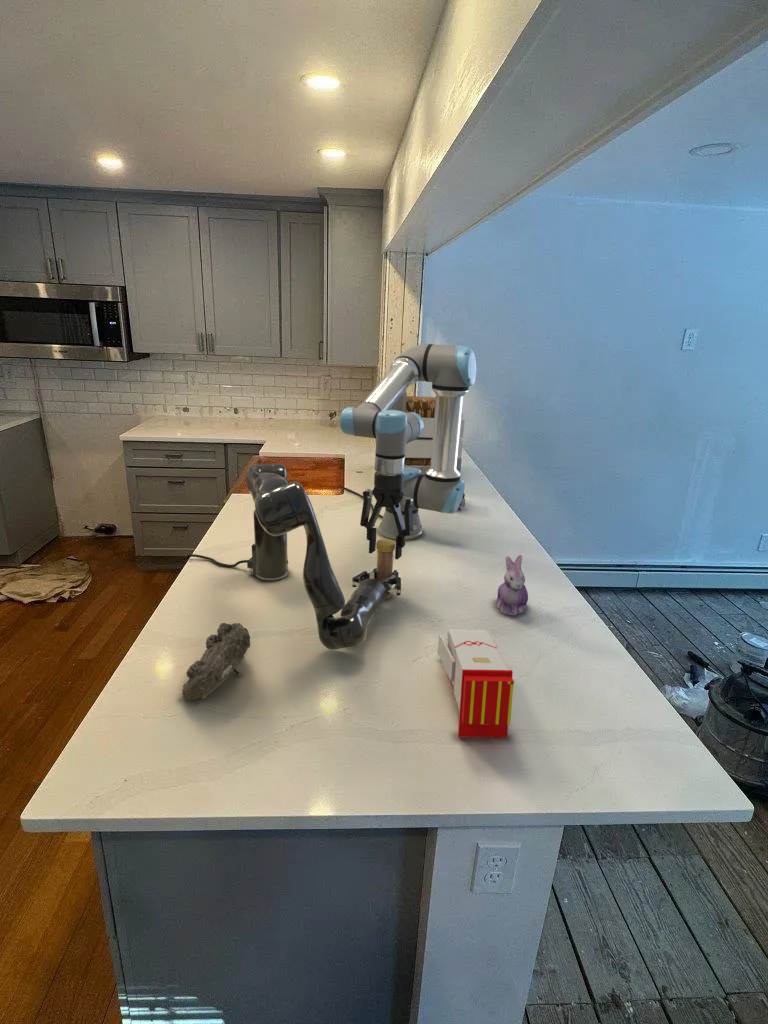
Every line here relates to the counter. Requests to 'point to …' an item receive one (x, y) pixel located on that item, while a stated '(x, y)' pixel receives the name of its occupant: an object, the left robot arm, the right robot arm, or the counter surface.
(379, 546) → the lid
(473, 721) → the toy
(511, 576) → the figurine
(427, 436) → the white storage crate
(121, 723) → the counter surface
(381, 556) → the jar
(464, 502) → the figurine character
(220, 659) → the fossil
